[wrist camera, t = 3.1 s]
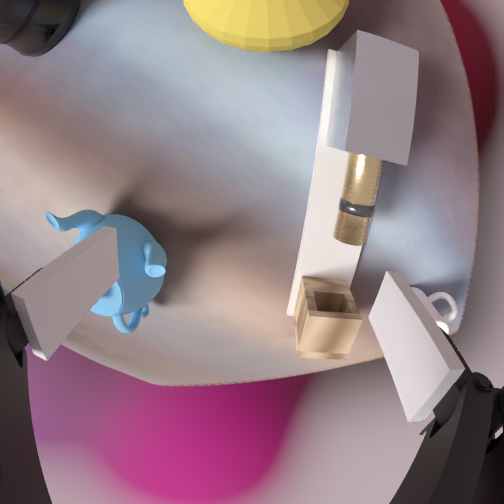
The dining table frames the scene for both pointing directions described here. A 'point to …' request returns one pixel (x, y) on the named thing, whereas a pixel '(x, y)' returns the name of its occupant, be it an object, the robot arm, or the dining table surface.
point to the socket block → (325, 319)
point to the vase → (266, 21)
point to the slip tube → (357, 199)
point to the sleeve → (374, 98)
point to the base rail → (324, 209)
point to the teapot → (123, 264)
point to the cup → (432, 310)
